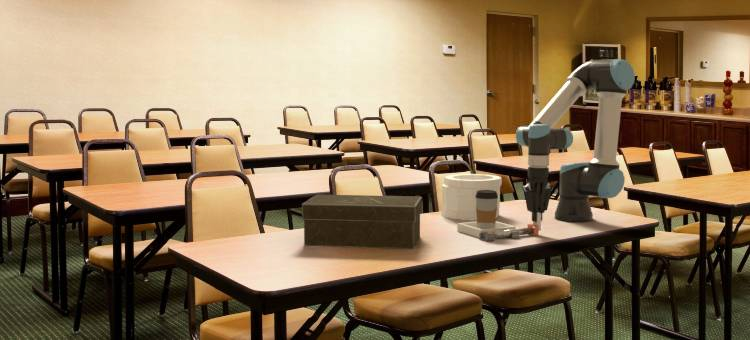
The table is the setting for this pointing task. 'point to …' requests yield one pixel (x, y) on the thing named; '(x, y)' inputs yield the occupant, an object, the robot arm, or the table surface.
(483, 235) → the bar guides
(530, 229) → the lock bar
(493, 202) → the coffee cup
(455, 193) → the container
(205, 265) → the table surface
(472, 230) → the square tray
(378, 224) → the box
